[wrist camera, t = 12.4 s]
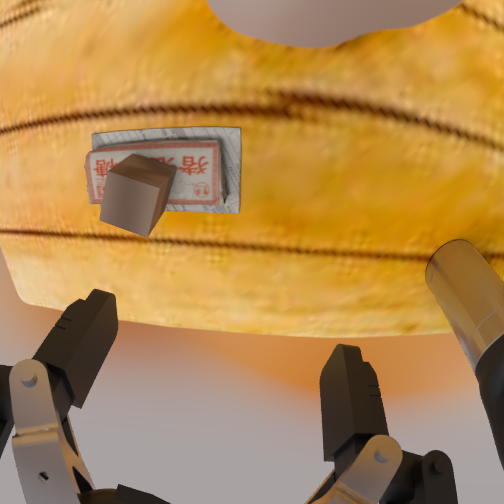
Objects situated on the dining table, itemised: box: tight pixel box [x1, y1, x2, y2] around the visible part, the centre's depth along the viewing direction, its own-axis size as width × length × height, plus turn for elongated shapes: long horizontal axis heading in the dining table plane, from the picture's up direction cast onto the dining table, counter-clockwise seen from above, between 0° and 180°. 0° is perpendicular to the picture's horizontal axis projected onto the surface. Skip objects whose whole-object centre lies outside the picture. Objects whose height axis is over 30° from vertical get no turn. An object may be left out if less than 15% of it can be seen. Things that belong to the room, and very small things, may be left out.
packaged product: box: [84, 127, 242, 214], centre depth 33 cm, size 18×5×10 cm
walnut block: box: [100, 153, 177, 238], centre depth 28 cm, size 5×5×6 cm
